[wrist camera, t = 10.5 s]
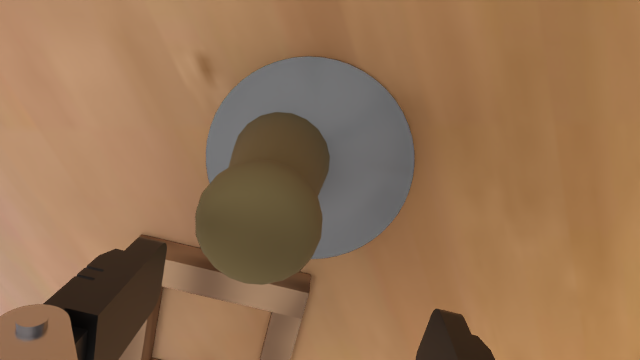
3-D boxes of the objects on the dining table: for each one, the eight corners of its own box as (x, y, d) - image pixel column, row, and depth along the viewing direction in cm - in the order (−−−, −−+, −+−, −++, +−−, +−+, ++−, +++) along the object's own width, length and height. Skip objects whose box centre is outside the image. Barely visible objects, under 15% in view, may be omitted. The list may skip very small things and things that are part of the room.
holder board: (310, 274, 30) (309, 293, 28) (273, 406, 33) (269, 432, 31) (141, 234, 29) (125, 250, 27) (122, 372, 33) (106, 397, 31)
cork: (317, 214, 28) (313, 322, 17) (225, 194, 27) (163, 292, 17) (340, 124, 26) (351, 185, 15) (241, 101, 25) (184, 147, 15)
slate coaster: (439, 87, 26) (443, 88, 25) (378, 271, 30) (380, 278, 29) (230, 31, 25) (226, 31, 24) (195, 227, 29) (190, 233, 28)
